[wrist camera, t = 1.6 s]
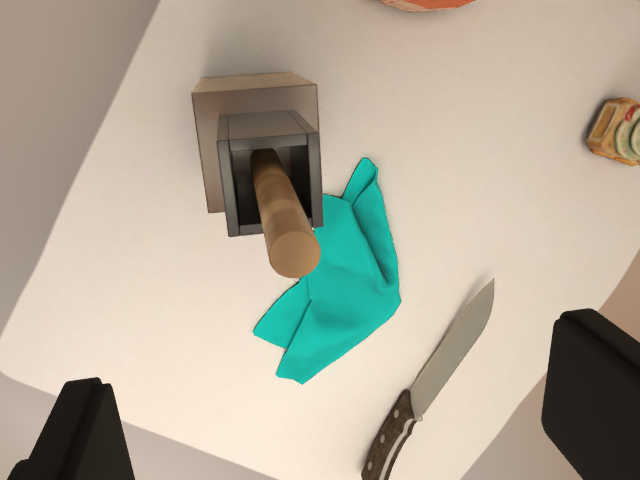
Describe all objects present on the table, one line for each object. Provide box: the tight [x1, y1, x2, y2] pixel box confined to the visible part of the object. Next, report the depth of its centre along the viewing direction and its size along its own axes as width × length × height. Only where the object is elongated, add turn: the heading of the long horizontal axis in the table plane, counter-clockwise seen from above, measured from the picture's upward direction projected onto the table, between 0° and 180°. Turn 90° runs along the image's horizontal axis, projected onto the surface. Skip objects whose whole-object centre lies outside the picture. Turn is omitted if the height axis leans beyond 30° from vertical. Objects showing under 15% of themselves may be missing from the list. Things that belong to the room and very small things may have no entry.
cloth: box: [253, 158, 401, 385], centre depth 54 cm, size 26×14×2 cm, turn 151°
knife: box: [361, 279, 494, 480], centre depth 58 cm, size 6×2×30 cm
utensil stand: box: [191, 72, 324, 237], centre depth 36 cm, size 8×8×23 cm
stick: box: [250, 148, 321, 278], centre depth 26 cm, size 2×2×18 cm
